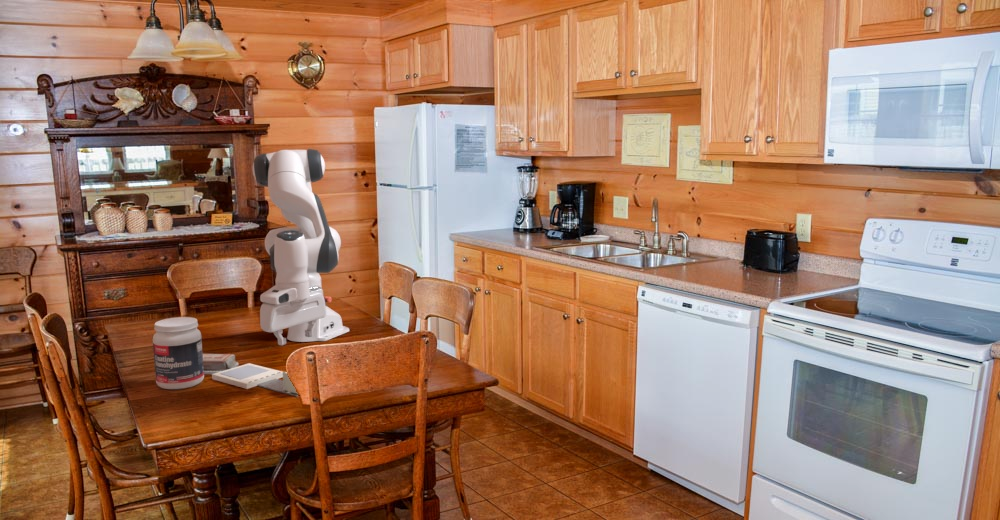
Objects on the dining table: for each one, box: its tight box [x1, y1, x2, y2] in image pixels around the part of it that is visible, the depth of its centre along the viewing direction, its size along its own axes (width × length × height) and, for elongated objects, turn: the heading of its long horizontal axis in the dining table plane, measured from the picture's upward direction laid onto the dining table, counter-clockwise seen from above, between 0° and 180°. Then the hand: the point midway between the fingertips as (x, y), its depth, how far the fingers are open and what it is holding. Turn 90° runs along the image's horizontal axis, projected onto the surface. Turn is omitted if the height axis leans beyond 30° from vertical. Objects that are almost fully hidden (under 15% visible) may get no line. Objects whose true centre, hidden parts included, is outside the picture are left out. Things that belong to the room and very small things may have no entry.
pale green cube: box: [282, 371, 298, 394], centre depth 210 cm, size 5×6×5 cm
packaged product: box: [202, 353, 240, 375], centre depth 232 cm, size 18×5×10 cm
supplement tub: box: [152, 316, 205, 390], centre depth 217 cm, size 13×13×18 cm
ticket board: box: [211, 362, 299, 398], centre depth 218 cm, size 13×33×2 cm, turn 55°
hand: (296, 340), depth 209 cm, fingers open, 8 cm apart
